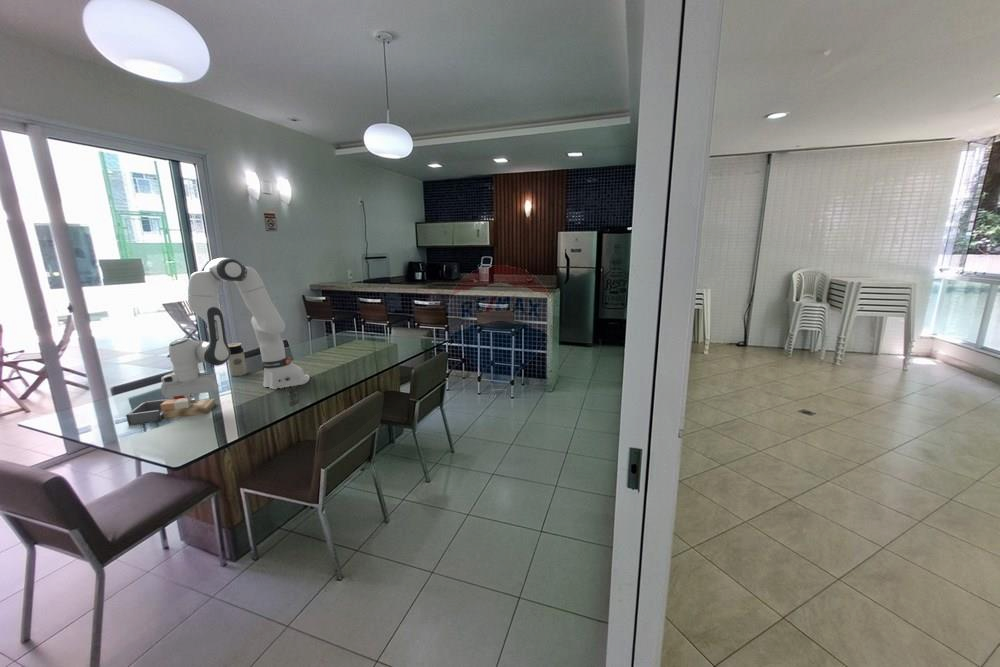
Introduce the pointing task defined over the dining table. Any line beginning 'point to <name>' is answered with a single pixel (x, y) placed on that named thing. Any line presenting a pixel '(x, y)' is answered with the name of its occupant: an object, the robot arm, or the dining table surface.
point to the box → (146, 413)
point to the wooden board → (191, 409)
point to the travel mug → (237, 360)
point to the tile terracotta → (168, 405)
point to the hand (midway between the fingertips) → (194, 402)
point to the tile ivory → (182, 403)
